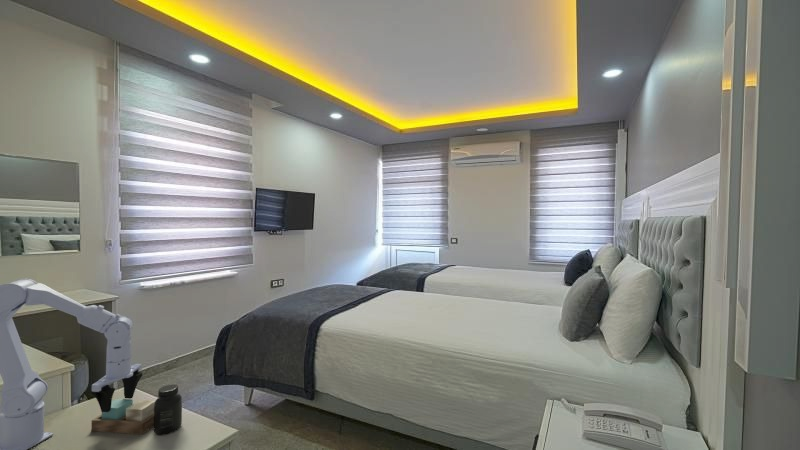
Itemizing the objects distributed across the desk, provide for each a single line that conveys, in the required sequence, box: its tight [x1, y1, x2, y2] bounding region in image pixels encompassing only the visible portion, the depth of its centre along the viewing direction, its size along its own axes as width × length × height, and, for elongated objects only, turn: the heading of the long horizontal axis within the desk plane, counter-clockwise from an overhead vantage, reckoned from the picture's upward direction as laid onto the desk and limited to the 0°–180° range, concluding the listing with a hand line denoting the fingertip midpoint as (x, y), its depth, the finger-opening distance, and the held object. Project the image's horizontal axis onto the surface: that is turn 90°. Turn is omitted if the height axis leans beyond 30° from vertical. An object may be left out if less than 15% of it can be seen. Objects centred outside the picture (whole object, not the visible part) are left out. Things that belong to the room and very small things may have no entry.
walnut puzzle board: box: [91, 399, 156, 435], centre depth 101 cm, size 16×8×6 cm, turn 86°
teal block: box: [101, 398, 134, 420], centre depth 101 cm, size 5×5×5 cm
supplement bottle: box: [153, 383, 183, 436], centre depth 99 cm, size 7×7×12 cm
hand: (117, 404), depth 101 cm, fingers open, 7 cm apart
